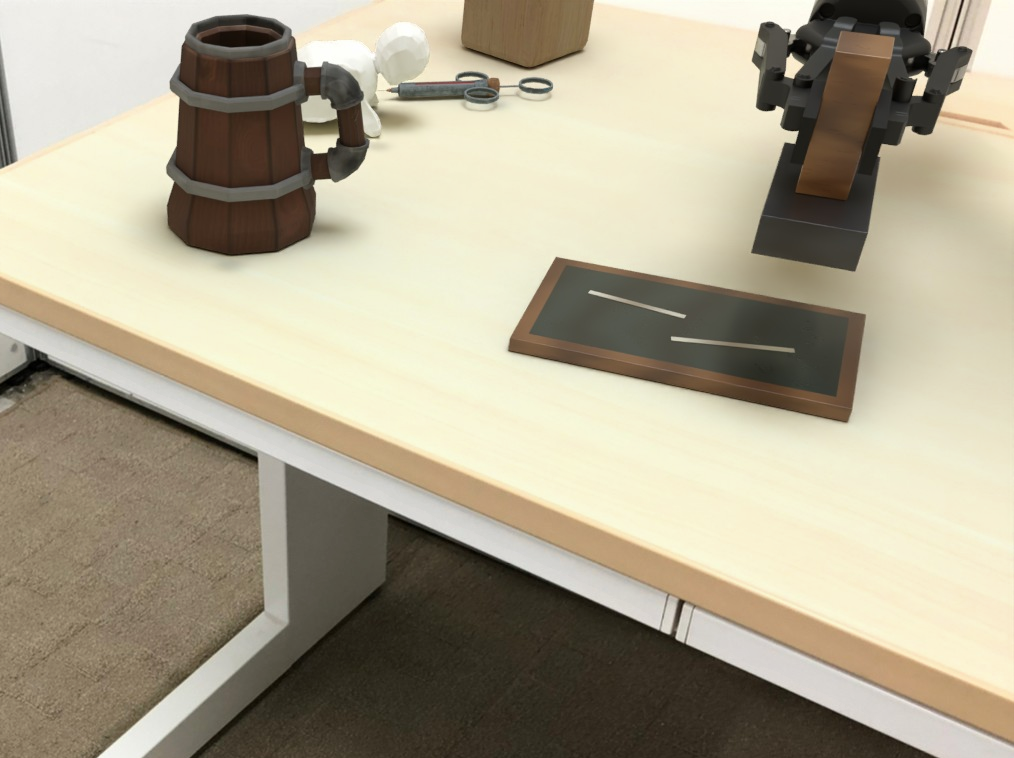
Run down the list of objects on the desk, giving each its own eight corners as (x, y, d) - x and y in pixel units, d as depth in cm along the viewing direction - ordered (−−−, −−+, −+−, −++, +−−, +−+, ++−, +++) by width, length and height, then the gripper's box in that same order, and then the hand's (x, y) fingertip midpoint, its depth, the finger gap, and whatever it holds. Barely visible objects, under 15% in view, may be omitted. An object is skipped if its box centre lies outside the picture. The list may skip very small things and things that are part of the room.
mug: (157, 251, 96) (143, 53, 87) (187, 186, 105) (178, 1, 96) (358, 264, 95) (367, 64, 85) (371, 197, 104) (381, 9, 94)
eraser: (868, 193, 82) (925, 20, 75) (855, 272, 74) (917, 85, 67) (774, 177, 84) (820, 7, 77) (750, 253, 76) (800, 70, 68)
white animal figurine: (292, 168, 116) (447, 110, 112) (257, 83, 110) (419, 19, 107) (293, 133, 122) (440, 77, 118) (260, 50, 117) (413, -11, 113)
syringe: (363, 85, 124) (364, 68, 123) (541, 79, 125) (543, 62, 124) (374, 114, 118) (375, 96, 117) (561, 108, 119) (563, 90, 118)
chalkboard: (861, 326, 87) (866, 313, 87) (847, 422, 78) (852, 408, 78) (553, 268, 94) (555, 255, 93) (507, 350, 85) (509, 337, 84)
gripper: (971, 94, 87) (967, 233, 70) (734, 62, 92) (679, 185, 75) (1012, -20, 82) (1018, 101, 66) (760, -47, 87) (707, 59, 70)
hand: (837, 146), depth 70 cm, fingers closed on eraser, 3 cm apart
